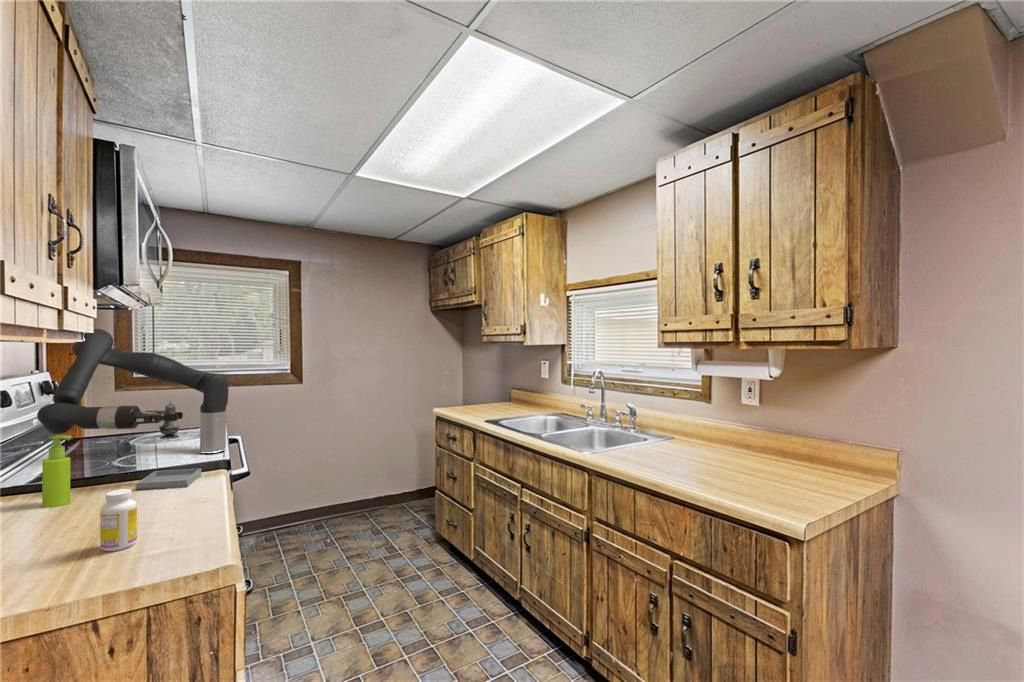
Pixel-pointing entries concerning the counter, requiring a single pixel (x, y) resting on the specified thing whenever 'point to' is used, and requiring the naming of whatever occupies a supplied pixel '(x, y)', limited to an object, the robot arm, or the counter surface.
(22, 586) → the counter surface
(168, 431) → the dark gray chess piece
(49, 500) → the soap dispenser
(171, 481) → the tray
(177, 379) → the robot arm
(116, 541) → the supplement bottle
